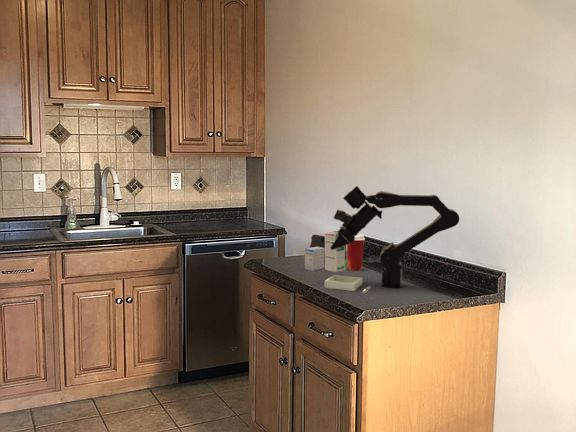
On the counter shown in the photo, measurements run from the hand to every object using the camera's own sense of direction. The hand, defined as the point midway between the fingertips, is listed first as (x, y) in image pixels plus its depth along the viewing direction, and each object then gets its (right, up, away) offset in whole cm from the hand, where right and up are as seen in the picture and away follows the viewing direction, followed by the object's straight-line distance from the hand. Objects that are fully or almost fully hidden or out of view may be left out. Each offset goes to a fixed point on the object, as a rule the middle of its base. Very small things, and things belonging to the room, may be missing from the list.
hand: (332, 247), depth 238 cm
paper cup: (+11, -11, +27) cm, 31 cm away
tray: (+4, -14, -4) cm, 15 cm away
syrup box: (+1, -9, +1) cm, 9 cm away
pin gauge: (+11, -14, -10) cm, 21 cm away
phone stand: (-3, -9, +39) cm, 41 cm away
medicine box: (-5, -10, +26) cm, 29 cm away
